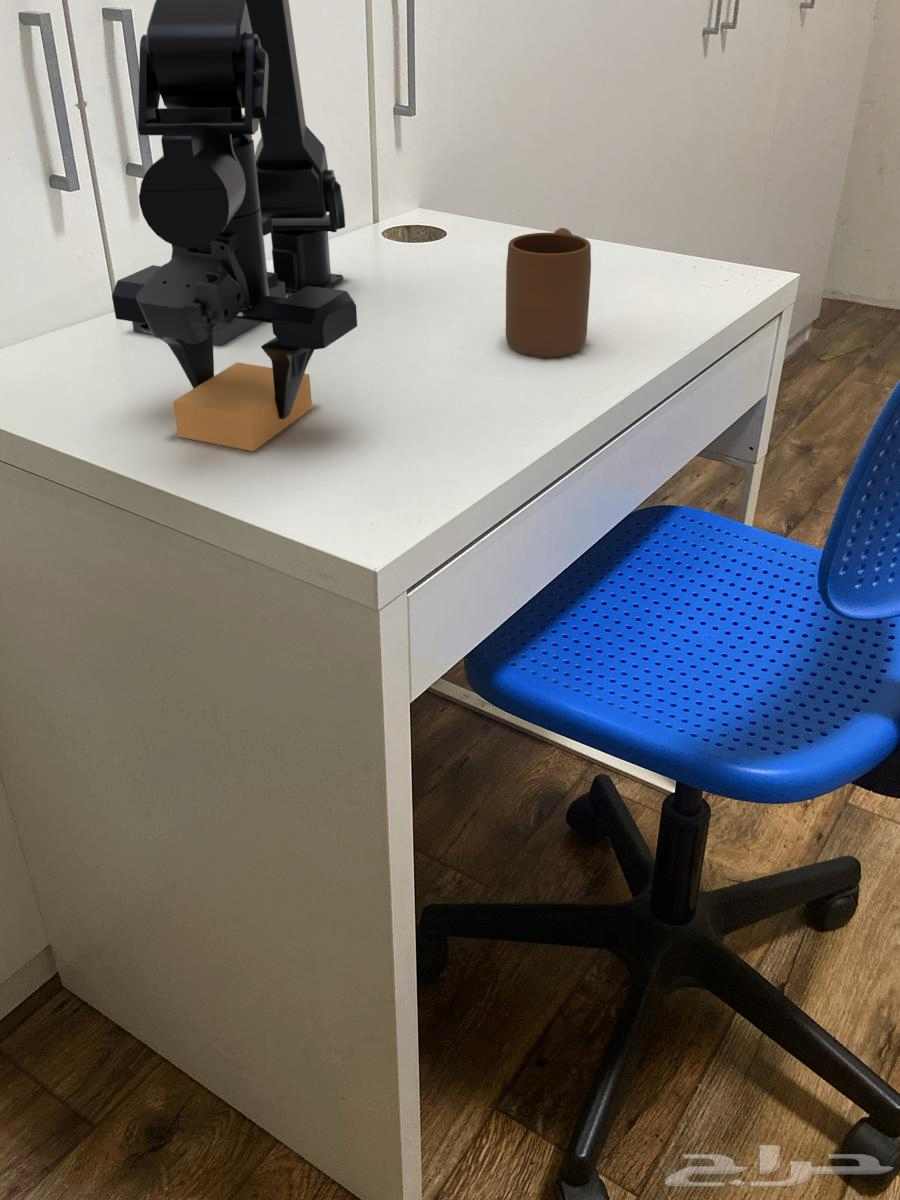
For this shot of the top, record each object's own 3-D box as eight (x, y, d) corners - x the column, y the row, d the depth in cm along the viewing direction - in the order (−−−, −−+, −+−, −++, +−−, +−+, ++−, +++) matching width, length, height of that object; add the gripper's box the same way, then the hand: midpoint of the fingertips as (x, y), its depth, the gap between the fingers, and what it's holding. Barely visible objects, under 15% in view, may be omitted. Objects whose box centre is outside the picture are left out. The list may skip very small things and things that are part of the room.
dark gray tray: (205, 295, 116) (201, 270, 115) (287, 307, 113) (284, 281, 111) (133, 332, 107) (128, 304, 105) (220, 345, 103) (216, 318, 102)
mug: (525, 313, 110) (527, 217, 105) (600, 319, 108) (606, 222, 103) (496, 355, 100) (497, 251, 95) (578, 362, 99) (584, 257, 93)
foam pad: (241, 395, 93) (237, 362, 92) (312, 408, 91) (309, 373, 89) (178, 436, 86) (172, 401, 85) (253, 451, 84) (249, 415, 82)
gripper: (43, 224, 77) (86, 430, 85) (272, 252, 70) (293, 472, 79) (142, 189, 85) (172, 380, 94) (354, 211, 79) (366, 413, 87)
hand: (245, 410), depth 88 cm, fingers closed on foam pad, 7 cm apart
